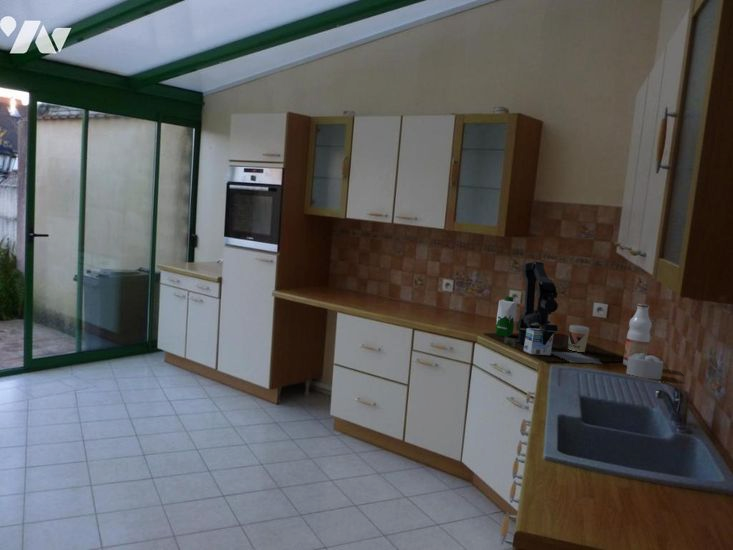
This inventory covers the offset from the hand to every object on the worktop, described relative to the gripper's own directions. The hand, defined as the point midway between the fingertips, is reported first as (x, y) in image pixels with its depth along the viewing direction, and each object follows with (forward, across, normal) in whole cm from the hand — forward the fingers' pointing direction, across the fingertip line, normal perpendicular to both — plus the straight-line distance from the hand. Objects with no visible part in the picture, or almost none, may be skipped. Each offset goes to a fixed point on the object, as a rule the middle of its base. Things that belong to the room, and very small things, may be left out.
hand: (538, 342), depth 278 cm
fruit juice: (+5, +17, +39) cm, 43 cm away
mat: (+5, +7, +15) cm, 17 cm away
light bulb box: (+5, 0, 0) cm, 5 cm away
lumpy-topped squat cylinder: (+5, +33, +30) cm, 45 cm away
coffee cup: (+5, -9, +27) cm, 29 cm away
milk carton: (+5, -39, +4) cm, 39 cm away
